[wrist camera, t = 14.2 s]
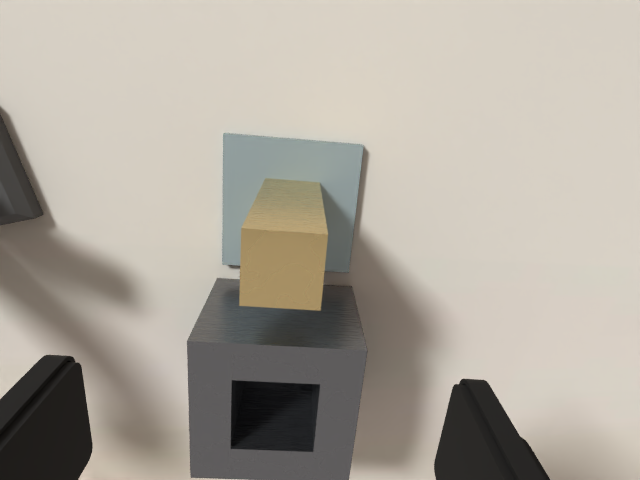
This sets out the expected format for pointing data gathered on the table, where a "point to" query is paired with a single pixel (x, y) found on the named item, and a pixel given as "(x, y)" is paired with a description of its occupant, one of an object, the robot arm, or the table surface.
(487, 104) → the table surface
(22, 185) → the faucet
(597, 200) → the table surface
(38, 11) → the table surface
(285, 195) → the brass peg
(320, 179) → the rubber pad
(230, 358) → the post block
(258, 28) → the table surface
